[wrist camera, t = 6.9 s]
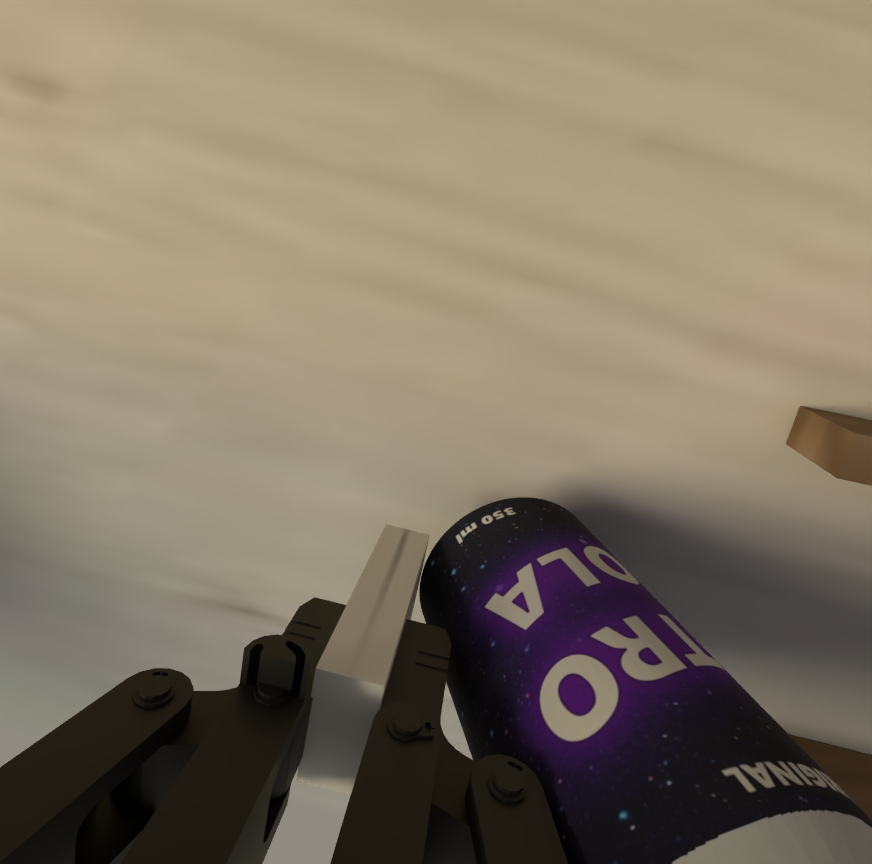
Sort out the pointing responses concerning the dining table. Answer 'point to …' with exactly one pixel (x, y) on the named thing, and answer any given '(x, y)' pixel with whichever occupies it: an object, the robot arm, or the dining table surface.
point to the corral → (859, 462)
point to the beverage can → (619, 705)
